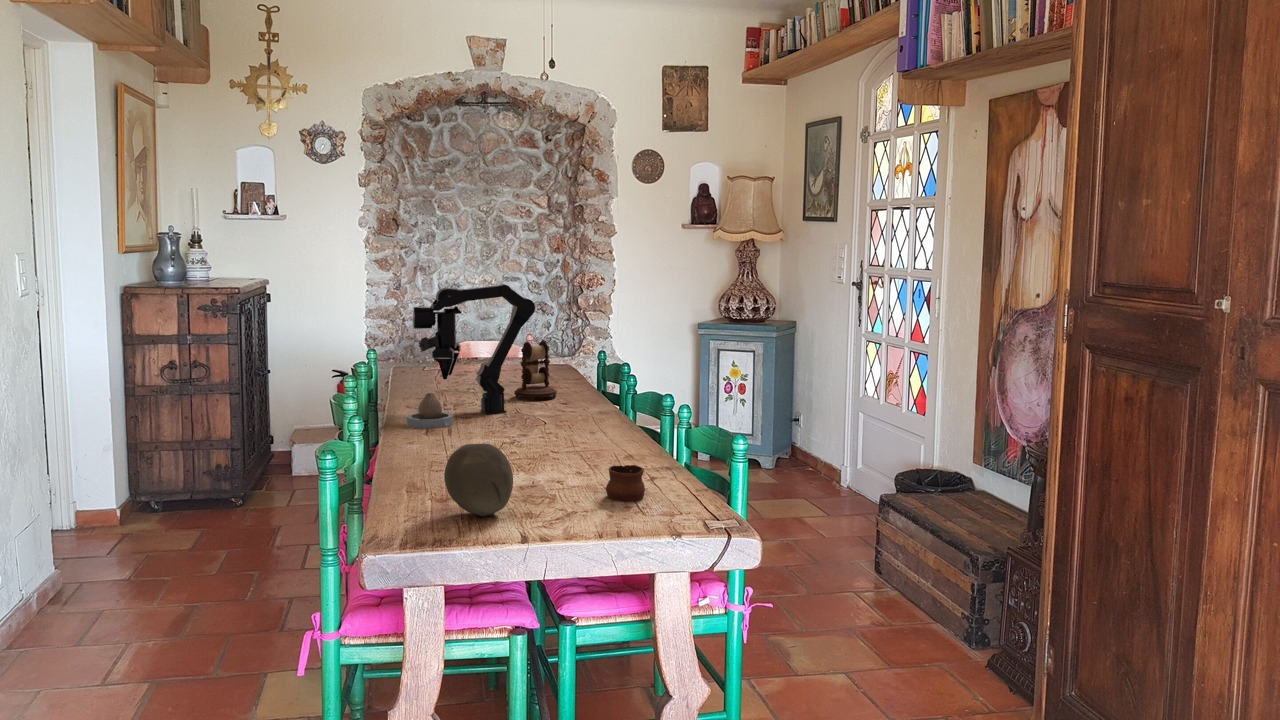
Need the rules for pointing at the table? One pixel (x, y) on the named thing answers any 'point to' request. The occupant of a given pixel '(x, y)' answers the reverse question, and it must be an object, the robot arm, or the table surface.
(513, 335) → the robot arm
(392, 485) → the table surface
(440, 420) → the ring dish
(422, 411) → the vase
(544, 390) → the spool holder stand
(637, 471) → the ceramic pot
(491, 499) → the dark brown round lump
